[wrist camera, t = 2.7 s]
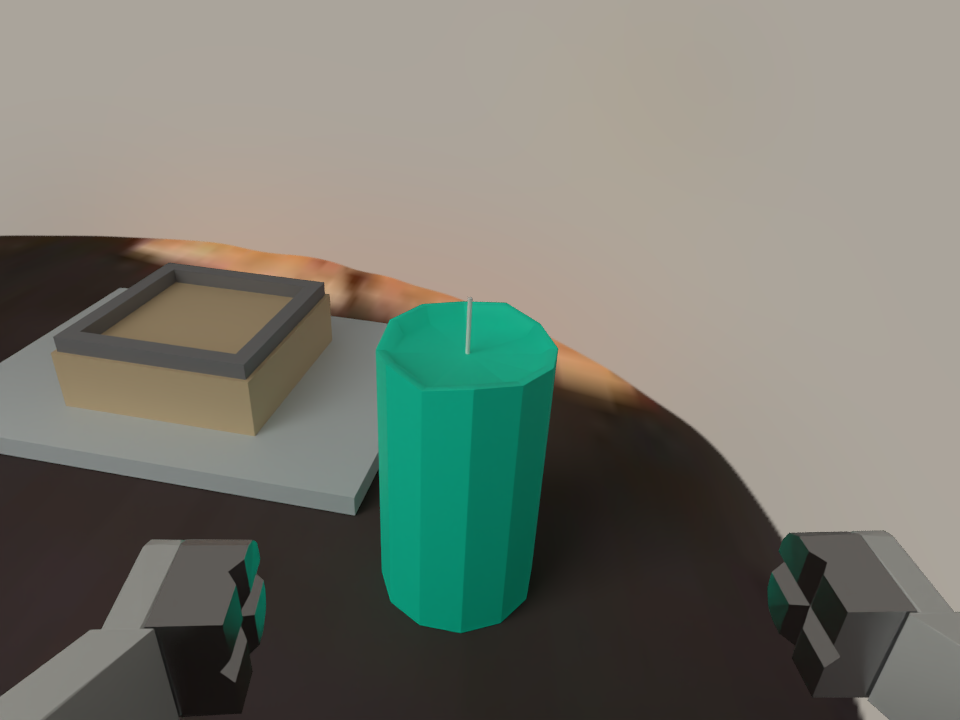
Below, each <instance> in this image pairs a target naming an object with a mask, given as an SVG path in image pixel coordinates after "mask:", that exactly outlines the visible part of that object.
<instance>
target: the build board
mask: <svg viewBox="0 0 960 720" xmlns="http://www.w3.org/2000/svg"><path fill="white" fill-rule="evenodd" d="M387 325H388V324H387V323H379V322H372V321H364V320H357V319H350V318H342V317H335V316H331V312H330V296H329V294H325V291H324V282H316V281H308V280H300V279H292V278H284V277H276V276H269V275H261V274H253V273H245V272H237V271H229V270H222V269H214V268H206V267H198V266H190V265H182V264H175V263H168V264H166V265H165V266H163V267H161V268H160V269H158V270H157V271H155V272H154V273H152V274H150V275H149V276H147V277H146V278H144V279H143V280H141V281H140V282H138V283H136V284H135V285H133V286H132V287H130V288H129V289H126V288H119V289H117V290H116V291H114V292H113V293H111V294H109V295H108V296H106V297H105V298H103V299H101V300H100V301H98V302H97V303H95V304H93V305H92V306H90V307H89V308H87V309H86V310H84V311H82V312H81V313H79V314H78V315H76V316H74V317H73V318H71V319H70V320H68V321H66V322H65V323H63V324H62V325H60V326H58V327H57V328H55V329H54V330H52V331H50V332H49V333H47V334H46V335H44V336H43V337H41V338H39V339H38V340H36V341H35V342H33V343H31V344H30V345H28V346H27V347H25V348H23V349H22V350H20V351H19V352H17V353H15V354H14V355H12V356H11V357H9V358H8V359H6V360H4V361H3V362H1V363H0V454H5V455H11V456H17V457H22V458H28V459H34V460H40V461H45V462H51V463H57V464H62V465H68V466H74V467H80V468H85V469H91V470H97V471H103V472H108V473H114V474H120V475H125V476H131V477H137V478H143V479H148V480H154V481H160V482H166V483H171V484H177V485H183V486H188V487H194V488H200V489H206V490H211V491H217V492H223V493H229V494H234V495H240V496H246V497H251V498H257V499H263V500H269V501H274V502H280V503H286V504H292V505H297V506H303V507H309V508H314V509H320V510H326V511H332V512H337V513H343V514H349V515H355V514H356V513H357V511H358V509H359V507H360V505H361V503H362V501H363V499H364V497H365V495H366V493H367V491H368V489H369V487H370V485H371V483H372V481H373V479H374V477H375V475H376V473H377V471H378V469H379V452H378V417H377V381H376V348H377V346H378V344H379V342H380V339H381V337H382V335H383V333H384V331H385V329H386V327H387Z"/></svg>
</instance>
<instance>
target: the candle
mask: <svg viewBox="0 0 960 720" xmlns="http://www.w3.org/2000/svg"><path fill="white" fill-rule="evenodd" d="M557 354H558V348H557V346H556V345H555V344H554V342H553V341H552V339H551V338H550V337H549V335H548V334H547V332H546V331H545V330H544V328H543V327H542V326H541V324H540V323H538V322H537V321H535V320H533V319H532V318H530V317H529V316H527V315H525V314H524V313H522V312H520V311H519V310H517V309H515V308H514V307H512V306H511V305H509V304H507V303H499V302H498V303H497V302H472V297H468V302H465V301H463V302H447V303H432V304H421V305H419V306H417V307H415V308H413V309H411V310H409V311H407V312H405V313H403V314H401V315H399V316H397V317H394V318H392V319H390V320H389V323H388V325H387V327H386V329H385V331H384V333H383V335H382V337H381V339H380V342H379V344H378V346H377V348H376V381H377V417H378V452H379V487H380V523H381V558H382V574H383V577H384V581H385V584H386V588H387V591H388V595H389V598H390V602H391V603H393V604H394V605H395V606H396V607H398V608H399V609H400V610H401V611H403V612H404V613H405V614H406V615H408V616H409V617H410V618H411V619H413V620H414V621H415V622H416V623H418V624H419V625H422V626H427V627H432V628H437V629H442V630H447V631H452V632H457V633H463V632H467V631H471V630H475V629H479V628H483V627H487V626H491V625H495V624H499V623H501V622H502V621H503V620H505V619H506V618H507V617H508V616H509V615H510V614H511V613H512V612H513V611H514V610H515V609H516V608H517V607H518V606H519V605H520V604H521V603H523V602H524V601H525V600H526V598H527V592H528V587H529V581H530V575H531V569H532V561H533V553H534V545H535V536H536V528H537V520H538V511H539V503H540V495H541V487H542V478H543V470H544V462H545V453H546V445H547V437H548V428H549V420H550V412H551V404H552V395H553V387H554V379H555V370H556V362H557Z"/></svg>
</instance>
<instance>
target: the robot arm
mask: <svg viewBox="0 0 960 720" xmlns="http://www.w3.org/2000/svg"><path fill="white" fill-rule="evenodd" d="M779 553H780V555H781V556H782V558H783V560H784V563H782V564H781V565H780V566H779V567H778V568H776V569H775V570H774V571H773V572H772V573H771V577H770V580H769V584H768V588H767V591H768V606H769V610H770V613H771V617H772V620H773V622H774V624H775V626H776V628H777V630H778V632H779V634H781V635H782V636H783V637H785V638H786V639H787V640H789V641H790V642H791V643H793V644H794V645H795V649H794V652H793V656H792V660H793V661H794V663H795V665H796V667H797V669H798V671H799V673H800V675H801V677H802V679H803V681H804V683H805V685H806V686H807V688H808V690H809V692H810V694H811V696H812V697H869V699H868V701H869V702H870V703H871V704H872V705H873V706H875V707H876V708H877V709H878V710H879V711H880V712H881V713H883V714H884V715H885V716H886V717H887V718H888V719H889V720H960V612H954V611H953V610H952V608H951V607H950V606H949V605H948V604H947V602H946V601H945V600H944V599H943V597H942V596H941V595H940V594H939V592H938V591H937V590H936V589H935V587H934V586H933V585H932V584H931V582H930V581H929V580H928V579H927V577H926V576H925V575H924V574H923V572H922V571H921V570H920V569H919V567H918V566H917V565H916V564H915V563H914V561H913V560H912V559H911V558H910V556H909V555H908V554H907V553H906V551H905V550H904V549H903V548H902V546H901V545H900V544H899V543H898V542H897V540H896V539H895V538H894V537H893V536H892V535H891V534H889V533H887V532H886V531H852V532H807V533H789V534H788V535H787V536H786V537H785V538H784V539H783V541H782V544H781V546H780V549H779ZM259 561H260V555H259V550H258V545H257V542H255V541H254V540H208V539H186V540H152V539H151V540H150V541H149V542H148V543H147V544H146V545H145V546H144V547H143V548H142V550H141V552H140V554H139V556H138V558H137V560H136V562H135V564H134V566H133V568H132V570H131V572H130V574H129V576H128V578H127V580H126V582H125V584H124V585H123V587H122V589H121V591H120V593H119V595H118V597H117V599H116V601H115V603H114V605H113V607H112V609H111V611H110V613H109V615H108V617H107V619H106V621H105V623H104V625H103V627H102V629H100V630H90V631H88V632H87V633H85V634H84V635H83V636H81V637H80V638H79V639H77V640H76V641H75V642H73V643H72V644H71V645H69V646H68V647H67V648H65V649H64V650H63V651H61V652H60V653H59V654H57V655H56V656H55V657H53V658H52V659H51V660H49V661H48V662H46V663H45V664H44V665H42V666H41V667H40V668H38V669H37V670H36V671H34V672H33V673H32V674H30V675H29V676H28V677H26V678H25V679H24V680H22V681H21V682H20V683H18V684H17V685H16V686H14V687H13V688H12V689H10V690H9V691H7V692H6V693H5V694H3V695H2V696H1V697H0V720H179V717H190V716H208V715H225V714H241V713H242V710H243V706H244V702H245V698H246V695H247V691H248V687H249V683H250V680H251V676H252V672H253V671H252V665H251V660H250V653H251V652H253V651H254V650H255V649H256V648H257V647H258V646H259V645H260V641H261V637H262V632H263V628H264V620H265V611H266V592H265V586H264V580H263V579H261V578H260V577H259V576H258V575H257V574H256V572H257V568H258V565H259Z"/></svg>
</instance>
